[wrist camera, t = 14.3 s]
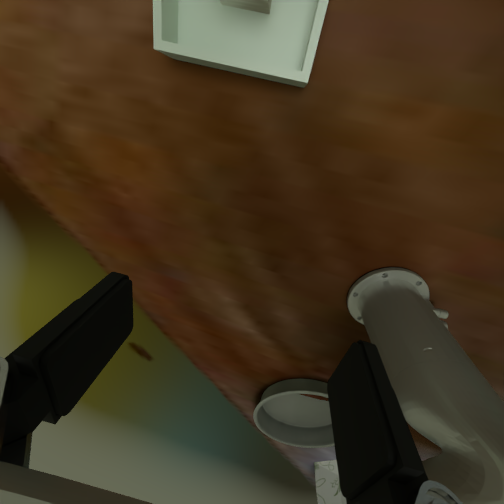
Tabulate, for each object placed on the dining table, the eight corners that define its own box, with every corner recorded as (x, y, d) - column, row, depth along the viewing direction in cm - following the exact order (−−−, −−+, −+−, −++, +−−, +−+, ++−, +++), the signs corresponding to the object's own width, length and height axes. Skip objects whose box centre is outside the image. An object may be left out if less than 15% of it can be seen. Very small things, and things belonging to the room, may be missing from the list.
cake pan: (370, 420, 61) (376, 441, 57) (283, 434, 69) (283, 453, 65) (331, 362, 51) (335, 382, 48) (236, 386, 60) (233, 405, 56)
